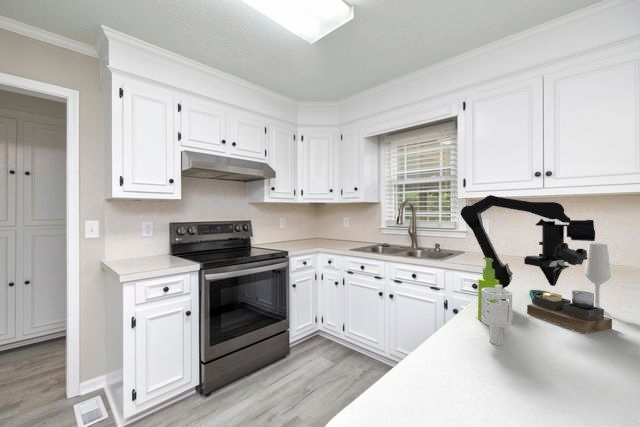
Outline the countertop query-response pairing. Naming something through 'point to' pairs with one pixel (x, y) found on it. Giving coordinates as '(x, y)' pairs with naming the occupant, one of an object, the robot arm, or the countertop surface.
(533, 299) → the digital multimeter
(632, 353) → the countertop surface
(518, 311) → the countertop surface
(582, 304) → the steel knob
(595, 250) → the champagne flute
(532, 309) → the knob console
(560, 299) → the brass knob
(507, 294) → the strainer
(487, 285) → the soap dispenser
